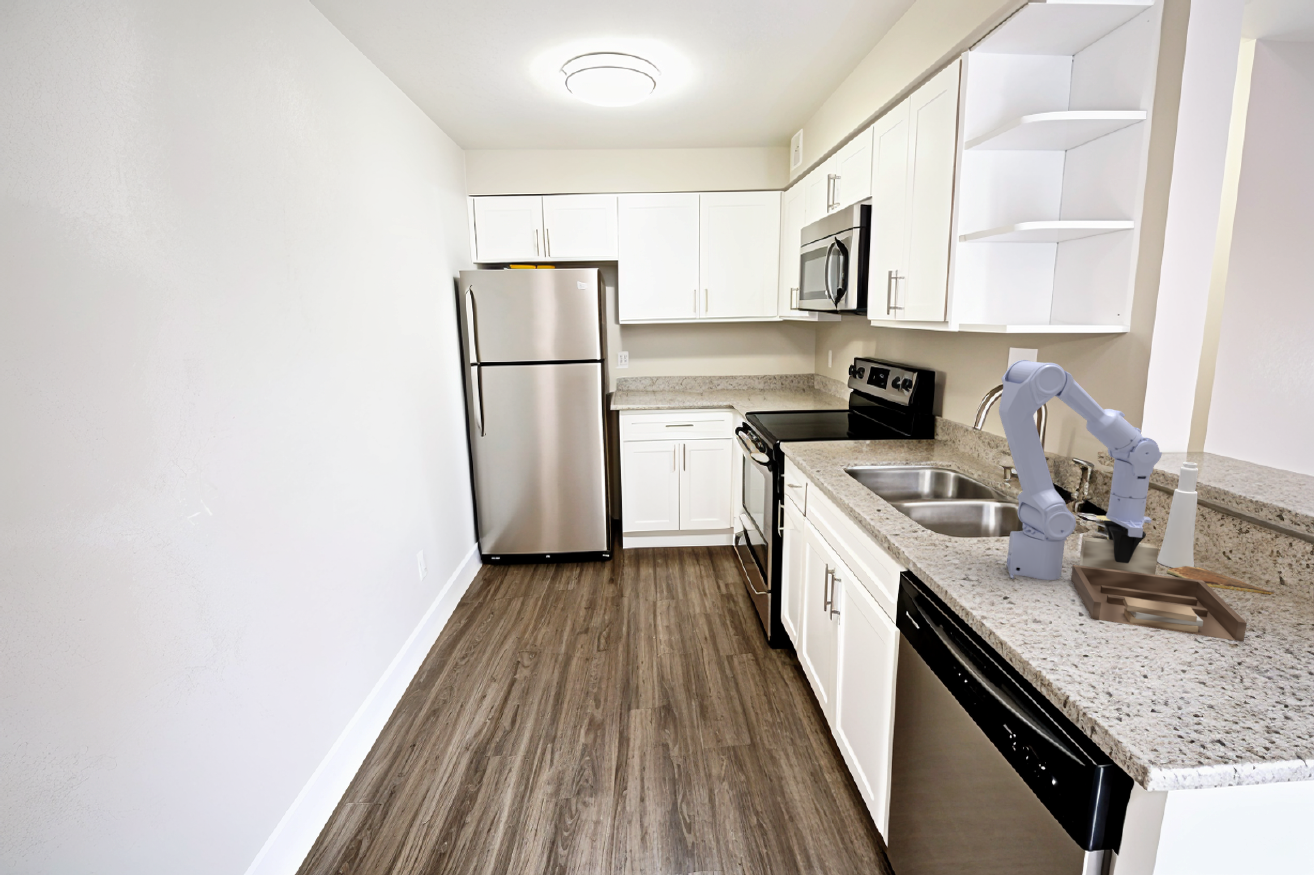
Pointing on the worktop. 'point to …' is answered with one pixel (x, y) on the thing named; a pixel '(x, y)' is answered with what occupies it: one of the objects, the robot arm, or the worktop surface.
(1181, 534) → the cosmetic bottle
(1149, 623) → the offcut bottom
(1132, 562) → the birch sheet
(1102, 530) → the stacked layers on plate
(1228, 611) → the rack
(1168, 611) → the offcut top
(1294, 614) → the worktop surface
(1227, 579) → the shard
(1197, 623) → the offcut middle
